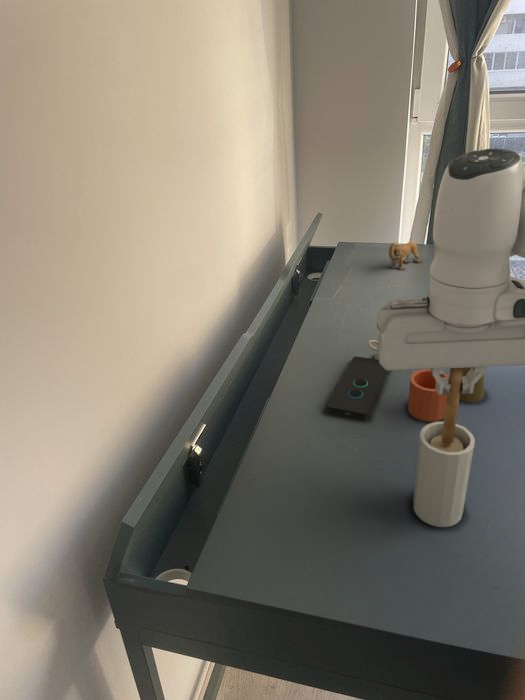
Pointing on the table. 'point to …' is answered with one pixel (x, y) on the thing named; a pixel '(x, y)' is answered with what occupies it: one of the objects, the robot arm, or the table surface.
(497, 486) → the table surface
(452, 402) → the bottle brush
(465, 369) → the olive pepper mill
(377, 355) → the decorative ornament
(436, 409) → the brush holder
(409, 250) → the lion figurine
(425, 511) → the white cylindrical cup
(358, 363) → the smart home device
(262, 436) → the table surface
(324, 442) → the table surface
